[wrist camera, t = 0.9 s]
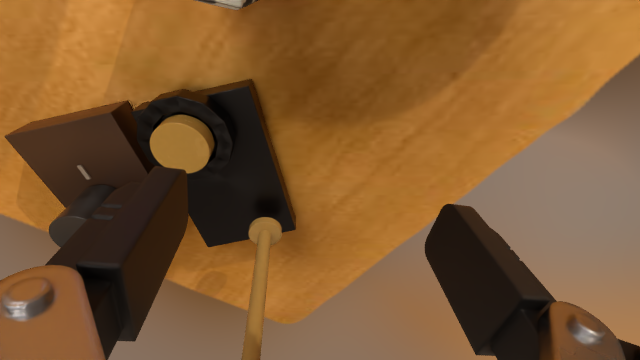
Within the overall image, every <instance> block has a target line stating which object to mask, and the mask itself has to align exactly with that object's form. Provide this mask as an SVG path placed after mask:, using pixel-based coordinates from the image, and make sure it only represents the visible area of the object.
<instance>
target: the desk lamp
mask: <svg viewBox="0 0 640 360" xmlns="http://www.w3.org/2000/svg"><path fill="white" fill-rule="evenodd" d="M281 234H282V228H281V225H280V223H279V222H278V221H276V220H275V219H273V218H269V217H261V218H258V219H256V220H254V221H253V222H252V223H251V224H250V227H249V238H250V239H251V241H252V242H254V243H255V244H257V251H256V258H255V265H254V273H253V280H252V287H251V294H250V301H249V309H248V316H247V323H246V330H245V338H244V344H243V353H242V359H241V360H260V356H261V344H262V332H263V322H264V311H265V299H266V288H267V277H268V266H269V254H270V245H274V244H275V243H277V242H278V241H279V240H280V238H281Z"/></svg>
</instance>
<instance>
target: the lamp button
mask: <svg viewBox="0 0 640 360" xmlns="http://www.w3.org/2000/svg"><path fill="white" fill-rule="evenodd" d="M150 148H151V151H152V154H153V155H154V157H155V158H156V160H157V161H158V162H159V163H160V164H161V165H163V166H164V167H168V168H176V169H184V170H185V171H186V173H193V172H196V171H199V170H200V169H202V168H203V167H204V166H205V165H206V164H207V162H208V160H209V158H210V156H211V154H212V152H213V150H214V138H213V135H212V133H211V131H210V129H209V128H208V127H207V126H206V125H205V124H204V123H203V122H202V121H200V120H199V119H197V118H195V117H192V116H189V115H173V116H170V117H168V118H166V119H165V120H164V121H163V122H162V123H161V124H160V125H159V126H158V127H157V128H156V129H155V130H154V132H153V133H152V135H151V138H150Z"/></svg>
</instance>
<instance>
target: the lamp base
mask: <svg viewBox="0 0 640 360" xmlns="http://www.w3.org/2000/svg"><path fill="white" fill-rule="evenodd" d="M131 114H132V116H133V117H134V119H135V121H136V123H137V142H138V143H139V145H140V147H141V148H142V150H143V152H144V153H145V155H146V157H147V158H148V160H149V161H150V162H151V163H152V164H154V165H155V166H160V167H164V166H163V165H161V164H160V163H159V162H158V161H157V160H156V158H155V157H154V155H153V154H152V151H151V148H150V138H151V135H152V133H153V132H154V130H155V129H156V128H157V127H158V126H159V125H160V124H161V123H162V122H163V121H164V120H165V119H166V118H168V117H170V116H173V115H189V116H192V117H195V118H197V119H199V120H200V121H202V122H203V123H204V124H205V125H206V126H207V127H208V128H209V129H210V131H211V133H212V135H213V138H214V150H213V152H212V154H211V156H210V158H209V160H208V162H207V164H206V165H205V166H204V167H203V168H202V169H200V170H199V171H196V172H193V173H187V191H188V213H189V215H190V217H191V218H192V220H193V222H194V224H195V225H196V227H197V229H198V231H199V232H200V234H201V236H202V238H203V239H204V241H205V243H206V245H207V246H208V247H212V246H217V245H222V244H227V243H232V242H237V241H242V240H247V239H250V238H249V227H250V224H251V223H252V222H253V221H254V220H256V219H258V218H261V217H269V218H273V219H275V220H276V221H278V222H279V223H280V225H281V228H282V232H287V231H292V230H296V217H295V214H294V211H293V207H292V204H291V201H290V198H289V195H288V192H287V189H286V185H285V182H284V179H283V176H282V173H281V170H280V167H279V163H278V160H277V157H276V154H275V151H274V148H273V145H272V141H271V138H270V135H269V132H268V129H267V126H266V122H265V119H264V116H263V113H262V110H261V107H260V104H259V100H258V97H257V94H256V91H255V88H254V85H253V82H252V79H249V80H244V81H240V82H235V83H231V84H227V85H222V86H218V87H213V88H209V89H204V90H200V91H195V92H192V91H189V90H185V89H182V90H178V91H173V92H169V93H164V94H161V95H159V96H158V97H157V98H155V99H154V100H153V101H151V102H146V103H142V104H141V105H139V106H138V107H137V108H135V109H134V110H133V111H132V112H131Z"/></svg>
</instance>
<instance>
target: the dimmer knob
mask: <svg viewBox="0 0 640 360" xmlns="http://www.w3.org/2000/svg"><path fill="white" fill-rule="evenodd" d="M116 189H117V188H114V187H111V186H107V185H94V186H90V187H88V188H87V189H85V190H84V191H83V192H82V193H81V194H80V195H79V196H78V197H77V198H76V199H75V200H74V201H73V202H72V203H71V204H70V205H69V206H68V207H67V208H66V209H65V210H64V211H63V212H62V213H61V214H60V215H59V216H58V217H57V218H56V219H55V220H54V221H53V222H52V223H51V224H50V226H49V234H50V236H51V238H52V239H53V241H54V242H55V243H56V244H57V245H58V246H59V247H62V246H63V245H64V244H65V243H66V242H67V241H68V240H69V239H70V237H71V236H72V235H73V234H74V233H75V232H76V231H77V230H78V229H79V228H80V227H81V226H82V224H83V223H84V222H85V221H86V220H87V219H88V218H91V215H92V214H93V213H94V211H95V210H96V209H97V208H98V207H101V204H102V203H103V202H104V201H105V199H106V198H107V197H108V196H109V195H110V194H111V193H112V192H113V191H114V190H116Z"/></svg>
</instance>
